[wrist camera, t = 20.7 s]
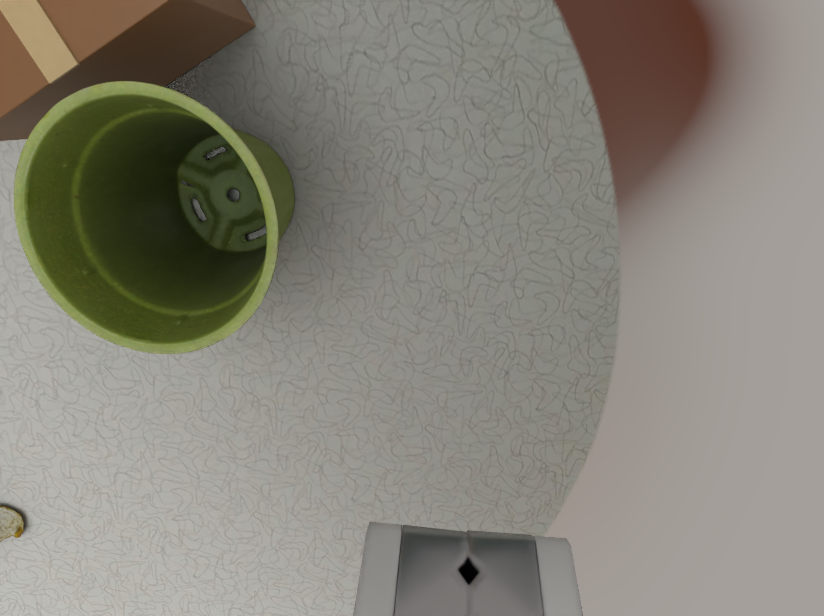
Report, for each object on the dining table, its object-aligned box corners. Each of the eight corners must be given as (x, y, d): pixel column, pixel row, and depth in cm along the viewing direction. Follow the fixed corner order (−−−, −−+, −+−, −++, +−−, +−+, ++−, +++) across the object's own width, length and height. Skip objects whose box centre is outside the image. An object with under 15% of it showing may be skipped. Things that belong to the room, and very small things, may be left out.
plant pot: (208, 43, 35) (94, 15, 24) (372, 181, 37) (333, 212, 26) (104, 204, 38) (-36, 241, 28) (258, 324, 40) (182, 403, 29)
